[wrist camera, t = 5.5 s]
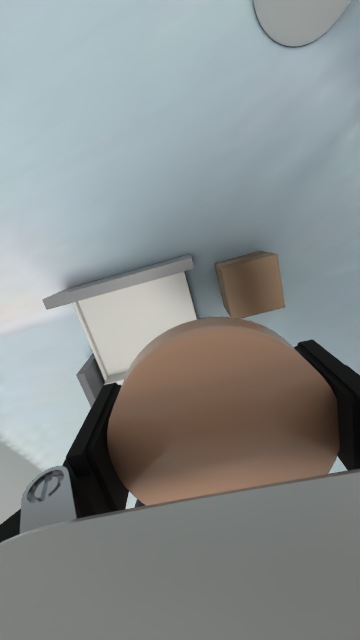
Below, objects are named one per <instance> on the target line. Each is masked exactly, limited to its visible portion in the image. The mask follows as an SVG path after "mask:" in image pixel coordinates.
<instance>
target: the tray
mask: <svg viewBox="0 0 360 640" xmlns="http://www.w3.org/2000/svg"><path fill="white" fill-rule="evenodd" d="M192 269H194V265H193V261H192V258H191V255H190V254H189V255H185V256H182V257H178V258H175V259H171V260H168V261H164V262H160V263H157V264H153V265H150V266H146V267H143V268H139V269H136V270H132V271H129V272H125V273H122V274H118V275H115V276H111V277H108V278H104V279H100V280H97V281H93V282H90V283H86V284H83V285H79V286H76V287H72V288H69V289H65V290H63V291H61V292H58V293H56V294H54V295H52V296H50V297H47V298H45V299H43V302H44V305H45V307H46V309H47V310H48V309H51V308H55V307H58V306H62V305H66V304H69V303H72V304H73V306H74V309H75V311H76V313H77V316H78V318H79V321H80V323H81V325H82V328H83V330H84V332H85V335H86V337H87V340H88V342H89V344H90V347H91V349H92V351H93V354H94V356H95V358H96V361H97V363H98V366H99V368H100V370H101V373H102V375H103V377H104V380H105V384H104V385H106V384H111V383H115V382H116V383H117V384H118V385H122V384H123V381H124V379H125V376H126V374H127V372H128V370H129V368H130V366H131V364H132V362H133V361H134V359H135V358H136V357H137V355H138V354H139V353H140V352H141V351H142V350H143V348H144V347H145V346H146V345H147V344H148V343H150V342H151V341H152V340H153V339H155V338H156V337H157V336H159V335H160V334H162V333H164V332H165V331H167V330H169V329H171V328H173V327H175V326H178V325H180V324H183V323H186V322H189V321H193V320H197V317H196V313H195V309H194V306H193V302H192V298H191V295H190V291H189V287H188V283H187V280H186V276H185V271H188V270H192Z"/></svg>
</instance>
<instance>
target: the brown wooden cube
mask: <svg viewBox="0 0 360 640" xmlns="http://www.w3.org/2000/svg"><path fill="white" fill-rule="evenodd" d="M215 268H216V272H217V277H218V281H219V285H220V290H221V294H222V299H223V303H224V307H225V309H226V310H227V312H228V314H229V315H230V317H231V318H238V319H240V318H244V317H248V316H252V315H256V314H260V313H264V312H268V311H272V310H276V309H280V308H284V307H285V304H284V297H283V290H282V284H281V277H280V271H279V264H278V257H277V254H274V253H268V252H263V251H259V252H255V253H251V254H248V255H244V256H241V257H237V258H233V259H230V260H226V261H222V262H219V263H215Z"/></svg>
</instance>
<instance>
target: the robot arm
mask: <svg viewBox="0 0 360 640" xmlns="http://www.w3.org/2000/svg"><path fill="white" fill-rule="evenodd" d="M294 349H295V350H296V351H297V352H298V353H299V354H300V355H301V356H302V357H303V358H304V359H306V360H307V361H308V362H309V363H310V364H311V365H312V366H313V367H314V368H315V369H316V370H317V371H318V372H319V373H320V374H321V375H322V377H323V378H324V379H325V380H326V382H327V383H328V384H329V386H330V387H331V389H332V391H333V393H334V395H335V397H336V399H337V409H338V426H339V442H340V449H339V452H338V455H337V456H338V457H339V459H340V460H341V462H342V463H343V464H344V466H345V467H346V469H347V470H348V471H343V472H337V473H331V474H325V475H319V476H313V477H307V478H301V479H295V480H289V481H283V482H277V483H271V484H266V485H260V486H254V487H248V488H243V489H237V490H231V491H225V492H220V493H214V494H208V495H203V496H197V497H191V498H186V499H180V500H175V501H169V502H164V503H158V504H153V505H147V506H142V507H136V508H131V509H125V507H126V502H127V498H128V493H129V490H128V489H127V488H126V487H125V486H124V484H123V483H122V481H121V480H120V479H119V477H118V475H117V473H116V471H115V468H114V466H113V464H112V461H111V459H110V456H109V451H108V445H107V430H108V424H109V418H110V415H111V412H112V409H113V406H114V404H115V401H116V399H117V396H118V394H119V391H120V389H121V386H122V385H118V384H117V383H116V382H115V383H111V384H106V385H103V386H102V388H101V390H100V392H99V394H98V396H97V398H96V400H95V402H94V404H93V406H92V408H91V410H90V412H89V413H88V415H87V417H86V419H85V421H84V423H83V425H82V427H81V429H80V431H79V433H78V435H77V437H76V439H75V440H74V442H73V444H72V446H71V448H70V450H69V452H68V454H67V456H66V459H65V461H64V463H63V465H62V466H56V467H52V468H50V469H47V470H45V471H44V472H42V473H41V474H39V475H38V476H37V477H36V478H35V479H34V480H32V482H31V483H30V484H29V485H28V486H27V488H26V490H25V491H24V493H23V497H22V502H21V509H20V510H18V511H17V512H16V513H15V514H14V515H12V516H11V517H10V518H8V519H7V520H6V521H4V522H3V523H2V524H1V525H0V640H360V375H358V374H357V373H356V372H355V371H353V370H352V369H351V368H350V367H348V366H346V365H344V364H343V363H342V362H340V361H339V360H338V359H337V358H335V357H334V356H333V355H331V354H330V353H329V352H328V351H326V350H325V349H324V348H323V347H321V346H320V345H319V344H318V343H316V342H315V341H314V340H308V341H303V342H299V343H298V345H297V346H296V347H294Z"/></svg>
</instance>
